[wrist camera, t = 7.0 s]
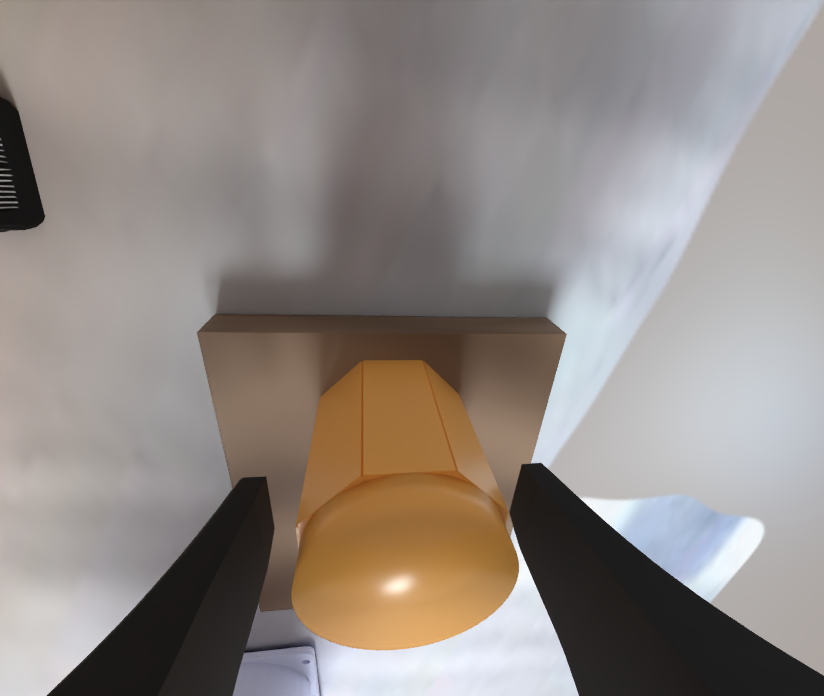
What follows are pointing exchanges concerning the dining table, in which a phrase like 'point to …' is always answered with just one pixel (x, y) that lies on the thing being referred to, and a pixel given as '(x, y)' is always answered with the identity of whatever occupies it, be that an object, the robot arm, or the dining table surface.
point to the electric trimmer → (16, 175)
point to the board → (331, 360)
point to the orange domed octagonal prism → (398, 514)
